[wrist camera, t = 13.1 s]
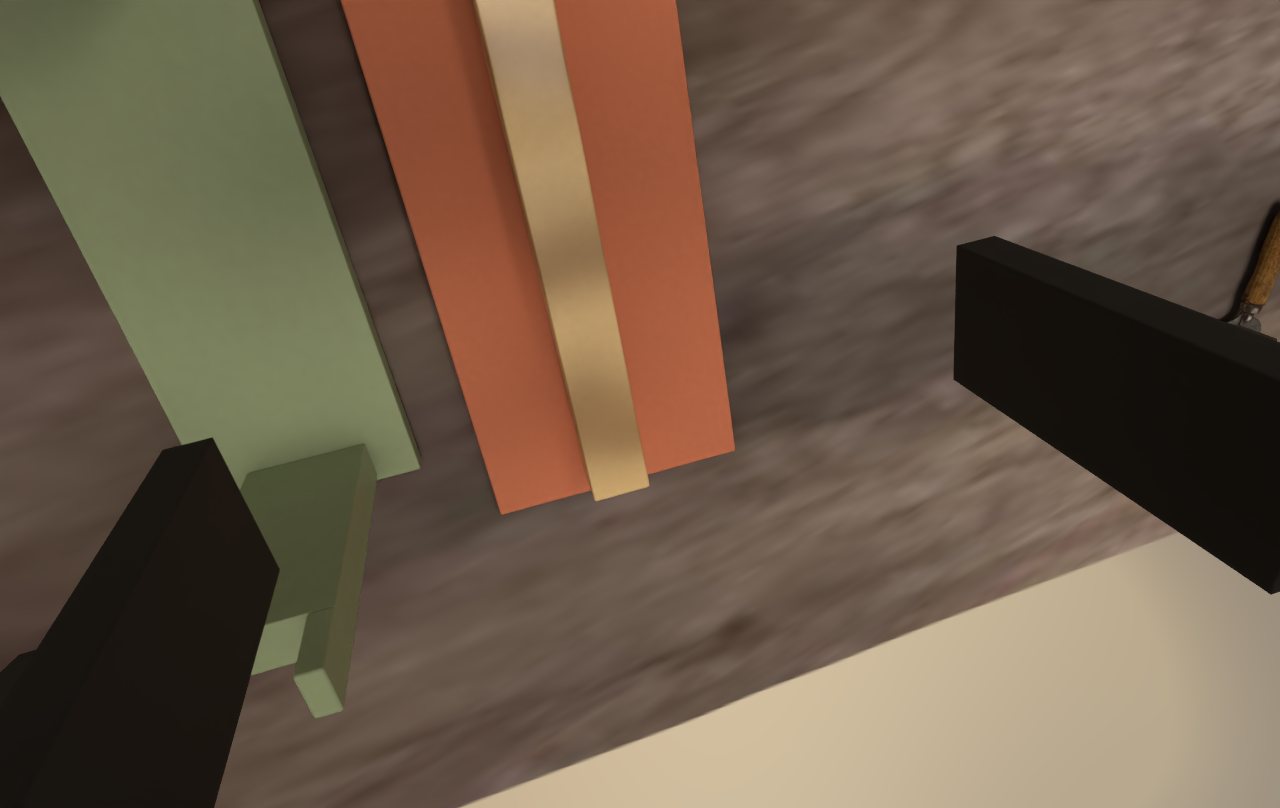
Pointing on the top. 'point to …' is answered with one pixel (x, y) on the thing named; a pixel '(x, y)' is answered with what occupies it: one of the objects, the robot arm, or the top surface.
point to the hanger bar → (563, 234)
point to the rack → (223, 279)
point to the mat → (499, 245)
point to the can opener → (1261, 279)
